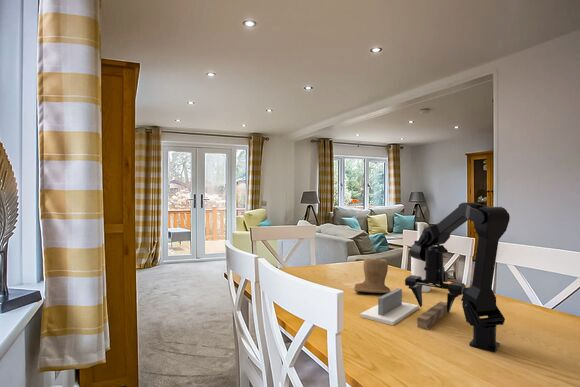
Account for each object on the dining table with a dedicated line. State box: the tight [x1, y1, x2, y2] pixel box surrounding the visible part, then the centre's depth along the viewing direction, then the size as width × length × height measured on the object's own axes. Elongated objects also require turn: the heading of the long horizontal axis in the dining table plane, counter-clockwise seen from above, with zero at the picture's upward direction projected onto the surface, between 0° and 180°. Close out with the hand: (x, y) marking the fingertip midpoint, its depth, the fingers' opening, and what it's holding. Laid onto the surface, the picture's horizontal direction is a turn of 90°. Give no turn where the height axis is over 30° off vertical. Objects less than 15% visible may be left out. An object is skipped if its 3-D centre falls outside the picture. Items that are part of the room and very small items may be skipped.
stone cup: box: [353, 257, 391, 294], centre depth 153 cm, size 15×12×15 cm
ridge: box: [359, 288, 420, 326], centre depth 126 cm, size 22×12×7 cm, turn 139°
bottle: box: [410, 221, 431, 293], centre depth 156 cm, size 8×8×30 cm
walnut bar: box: [416, 300, 448, 330], centre depth 120 cm, size 22×3×4 cm, turn 139°
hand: (434, 309), depth 120 cm, fingers open, 9 cm apart
